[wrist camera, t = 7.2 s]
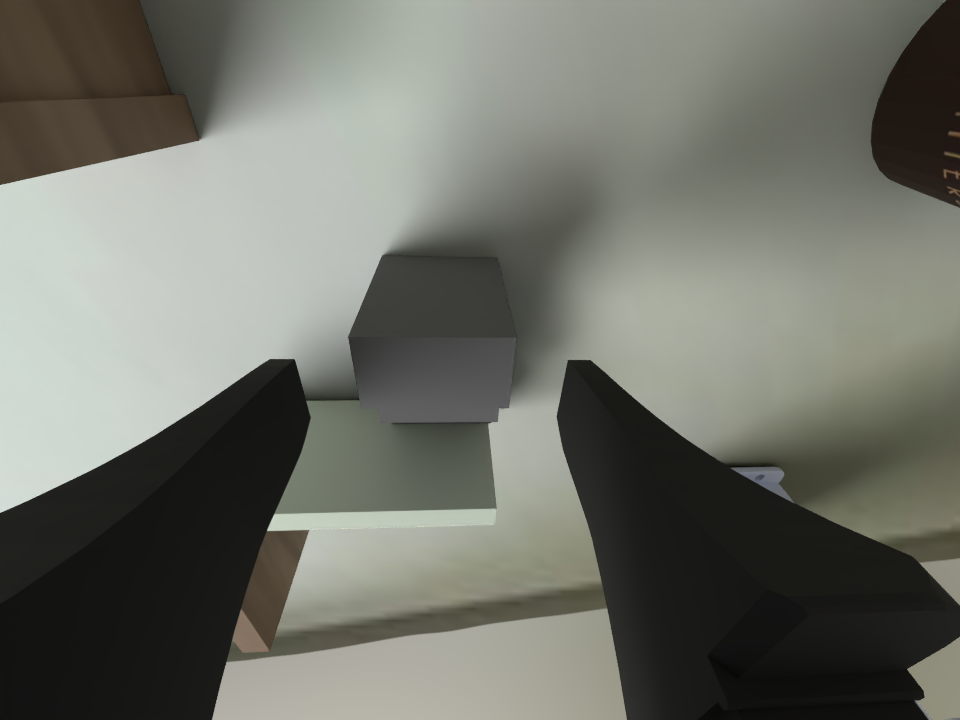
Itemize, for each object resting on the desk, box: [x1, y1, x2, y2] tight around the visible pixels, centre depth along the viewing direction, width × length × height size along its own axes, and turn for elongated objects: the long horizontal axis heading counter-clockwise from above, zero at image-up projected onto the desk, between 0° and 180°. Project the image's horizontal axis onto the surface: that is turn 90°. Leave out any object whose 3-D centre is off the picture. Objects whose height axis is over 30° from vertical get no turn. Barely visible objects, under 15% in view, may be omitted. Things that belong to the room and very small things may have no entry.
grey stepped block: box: [348, 255, 517, 424], centre depth 15 cm, size 7×4×6 cm, turn 178°
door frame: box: [0, 0, 309, 653], centre depth 14 cm, size 2×26×8 cm, turn 177°
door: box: [267, 400, 497, 531], centre depth 17 cm, size 11×1×6 cm, turn 88°
